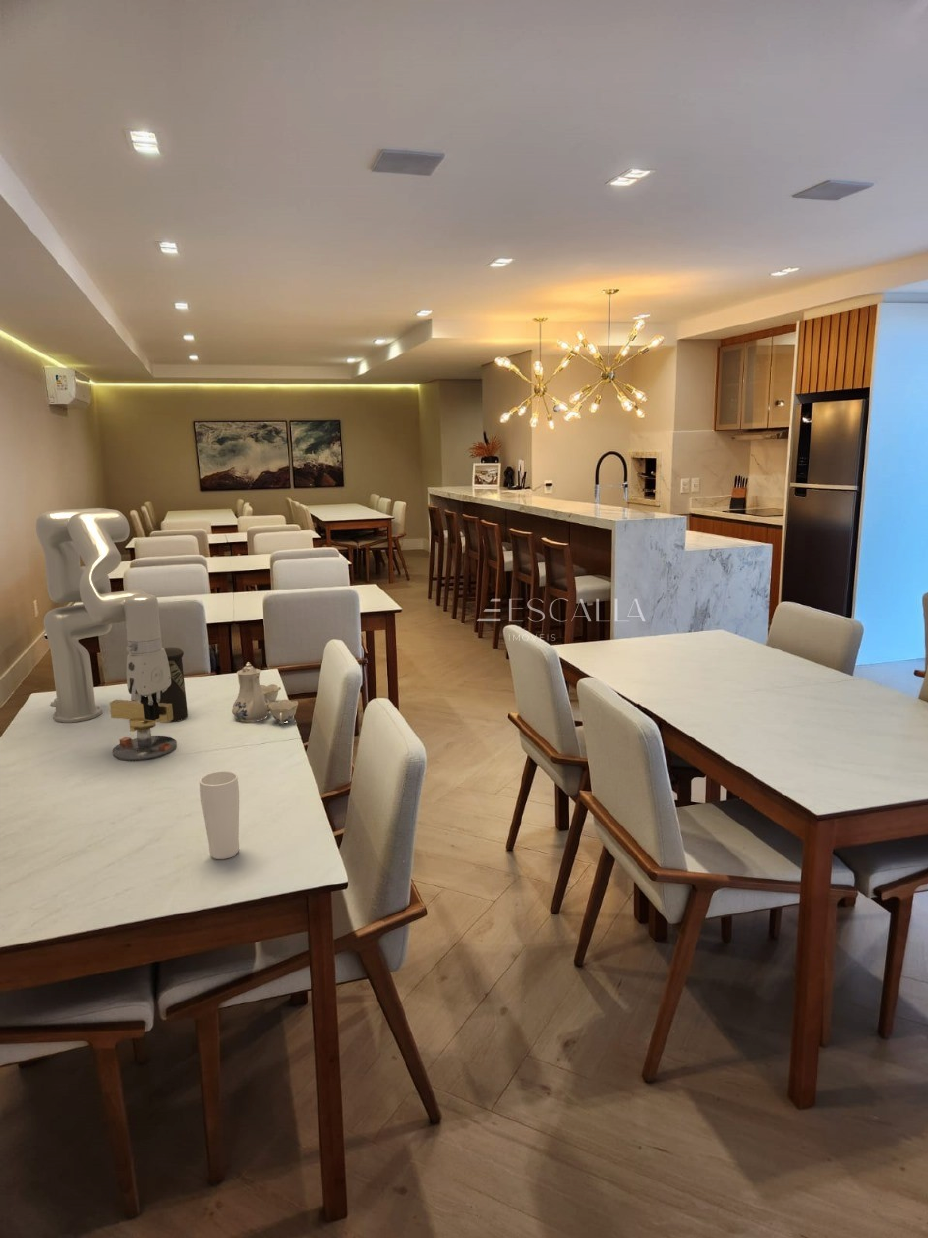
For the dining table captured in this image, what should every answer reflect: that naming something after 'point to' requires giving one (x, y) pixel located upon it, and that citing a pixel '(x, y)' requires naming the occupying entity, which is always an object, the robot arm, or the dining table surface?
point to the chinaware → (260, 699)
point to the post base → (143, 753)
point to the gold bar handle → (139, 714)
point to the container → (176, 685)
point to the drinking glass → (221, 812)
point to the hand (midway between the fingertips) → (152, 718)
